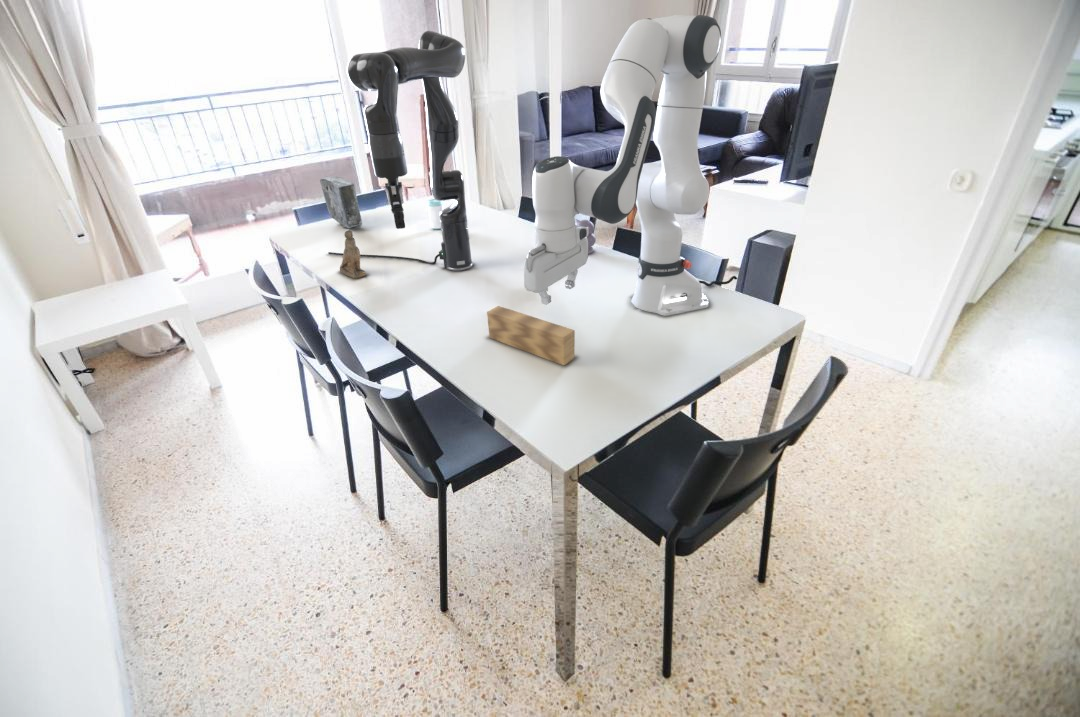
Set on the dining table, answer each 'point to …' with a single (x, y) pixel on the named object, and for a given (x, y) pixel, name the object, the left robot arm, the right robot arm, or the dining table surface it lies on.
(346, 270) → the brown carved statuette
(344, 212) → the concrete block
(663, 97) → the right robot arm
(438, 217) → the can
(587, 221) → the cat figurine
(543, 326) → the bar
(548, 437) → the dining table surface
